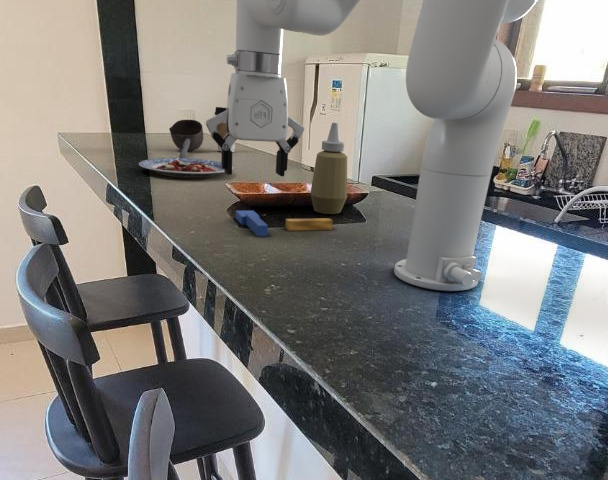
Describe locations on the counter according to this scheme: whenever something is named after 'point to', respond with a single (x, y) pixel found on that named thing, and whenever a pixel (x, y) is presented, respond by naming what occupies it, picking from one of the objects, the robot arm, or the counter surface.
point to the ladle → (187, 136)
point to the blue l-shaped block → (252, 222)
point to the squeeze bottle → (330, 175)
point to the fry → (309, 224)
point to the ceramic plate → (183, 167)
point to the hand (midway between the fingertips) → (254, 174)
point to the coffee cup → (222, 127)
